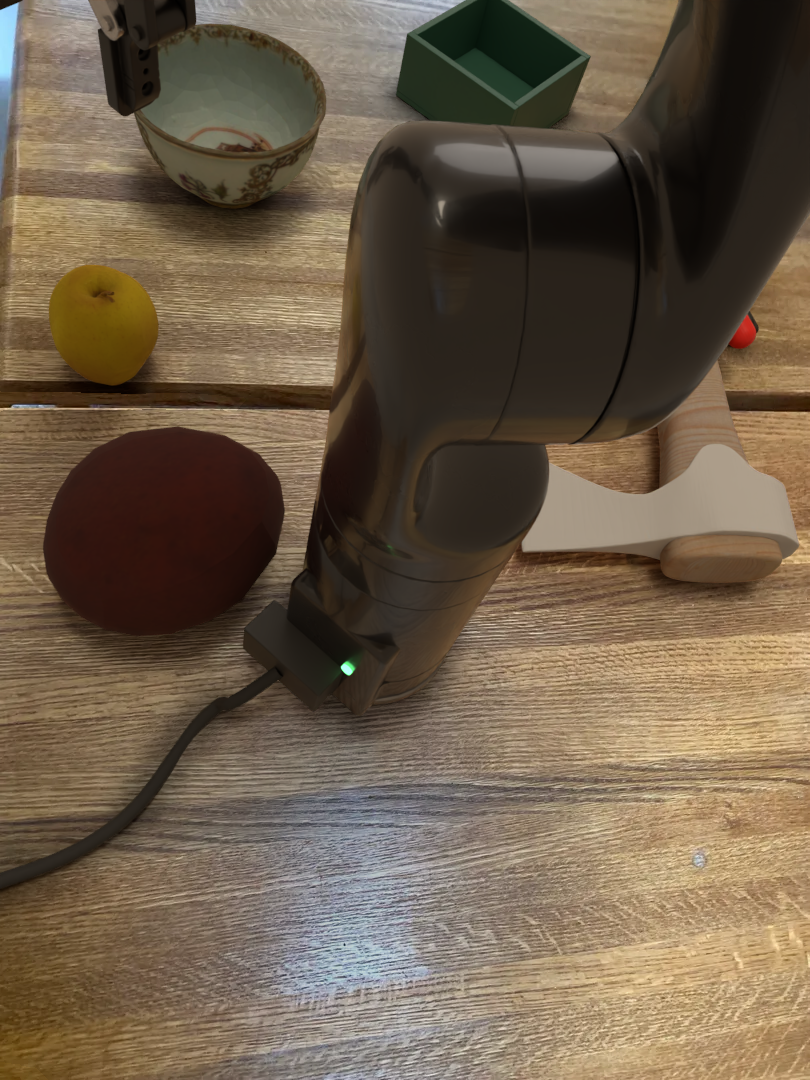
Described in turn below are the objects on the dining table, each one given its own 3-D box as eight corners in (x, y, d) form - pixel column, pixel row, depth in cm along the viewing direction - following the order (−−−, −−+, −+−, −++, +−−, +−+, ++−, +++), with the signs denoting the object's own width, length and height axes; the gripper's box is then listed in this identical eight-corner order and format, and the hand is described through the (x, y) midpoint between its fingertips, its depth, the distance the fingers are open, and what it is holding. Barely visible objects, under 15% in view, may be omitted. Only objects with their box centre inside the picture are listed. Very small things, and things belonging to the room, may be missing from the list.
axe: (731, 208, 66) (821, 554, 52) (705, 259, 71) (782, 590, 57) (502, 197, 65) (531, 547, 51) (491, 249, 70) (516, 584, 56)
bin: (495, 168, 72) (514, 109, 67) (395, 95, 74) (406, 33, 69) (568, 113, 77) (591, 56, 72) (472, 46, 79) (488, -14, 74)
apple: (155, 410, 55) (144, 328, 48) (51, 399, 54) (25, 313, 47) (168, 333, 58) (160, 245, 51) (70, 321, 57) (48, 229, 50)
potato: (68, 659, 39) (99, 681, 49) (332, 548, 43) (311, 589, 52) (-20, 445, 40) (27, 508, 50) (241, 356, 44) (237, 431, 54)
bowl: (334, 147, 69) (345, 54, 62) (295, 265, 63) (303, 176, 56) (167, 101, 68) (159, 1, 61) (110, 216, 62) (95, 119, 55)
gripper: (-312, -582, 24) (-110, -2, 38) (33, -346, 21) (112, 179, 36) (-74, -592, 27) (31, -55, 42) (248, -390, 25) (242, 107, 39)
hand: (68, 53), depth 39 cm, fingers open, 8 cm apart
